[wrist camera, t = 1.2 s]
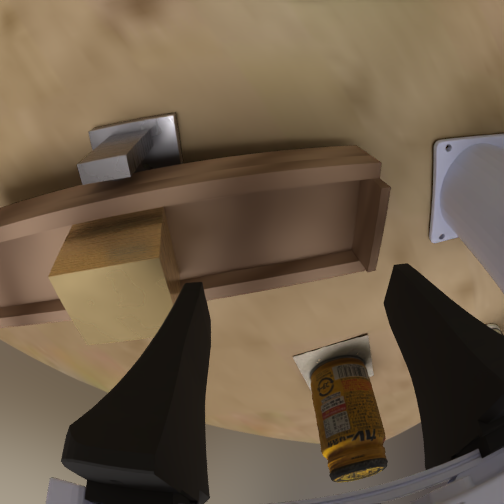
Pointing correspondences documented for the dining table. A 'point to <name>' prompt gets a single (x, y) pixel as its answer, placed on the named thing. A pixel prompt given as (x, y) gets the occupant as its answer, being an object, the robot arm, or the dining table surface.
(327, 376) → the condiment
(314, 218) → the balance beam
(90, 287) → the wooden cube block
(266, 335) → the dining table surface
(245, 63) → the dining table surface
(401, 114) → the dining table surface
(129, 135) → the pivot stand
